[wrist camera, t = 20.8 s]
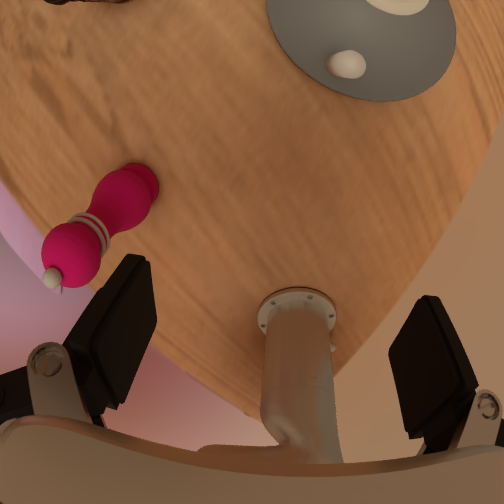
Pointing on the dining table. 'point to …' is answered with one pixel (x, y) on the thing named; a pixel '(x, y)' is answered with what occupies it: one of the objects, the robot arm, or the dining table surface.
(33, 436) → the robot arm
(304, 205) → the dining table surface
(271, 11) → the turntable
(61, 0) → the coffee cup
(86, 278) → the pepper mill
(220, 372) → the dining table surface
